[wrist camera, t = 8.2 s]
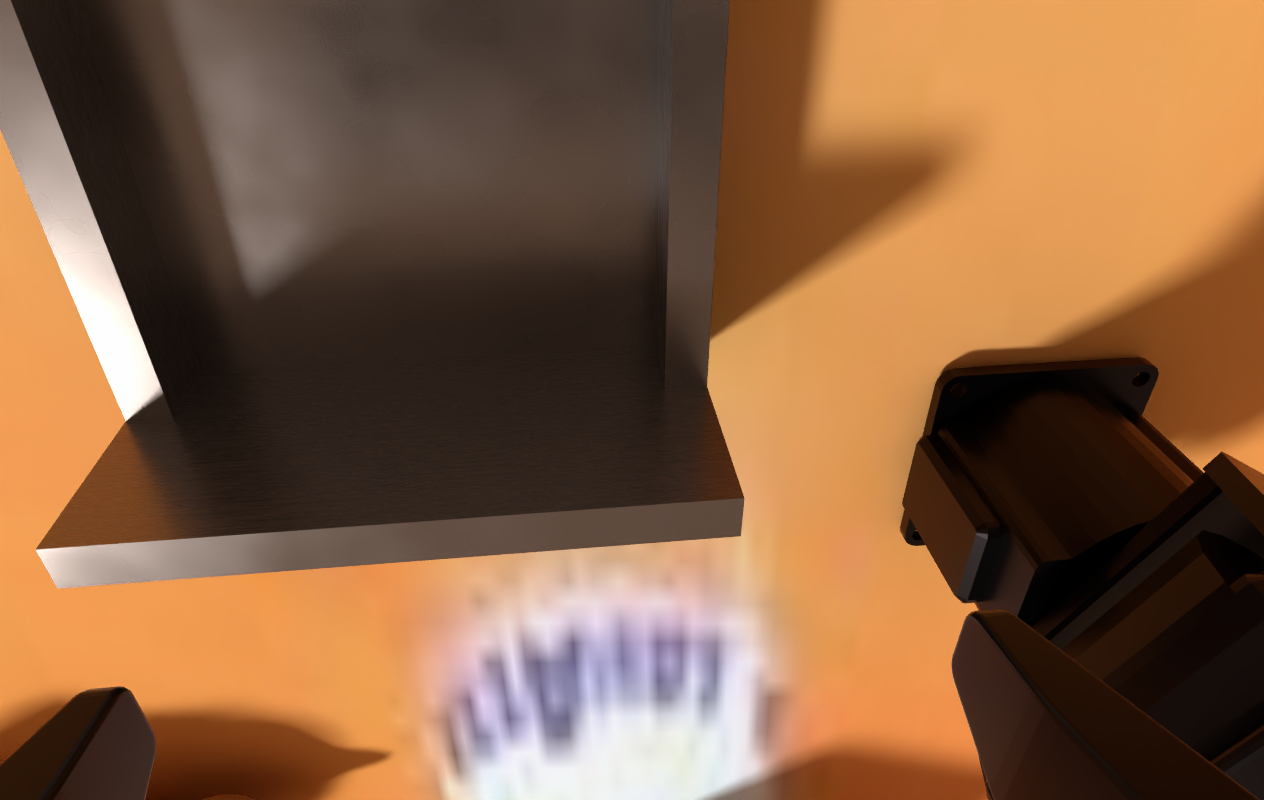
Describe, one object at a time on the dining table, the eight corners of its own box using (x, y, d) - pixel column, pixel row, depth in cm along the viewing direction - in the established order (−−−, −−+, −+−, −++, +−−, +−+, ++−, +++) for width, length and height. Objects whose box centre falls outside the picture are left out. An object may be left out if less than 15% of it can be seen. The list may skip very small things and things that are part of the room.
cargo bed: (717, 355, 22) (784, 532, 16) (150, 387, 21) (6, 592, 15) (760, -290, 15) (911, -380, 9) (-124, -300, 13) (-616, -414, 8)
